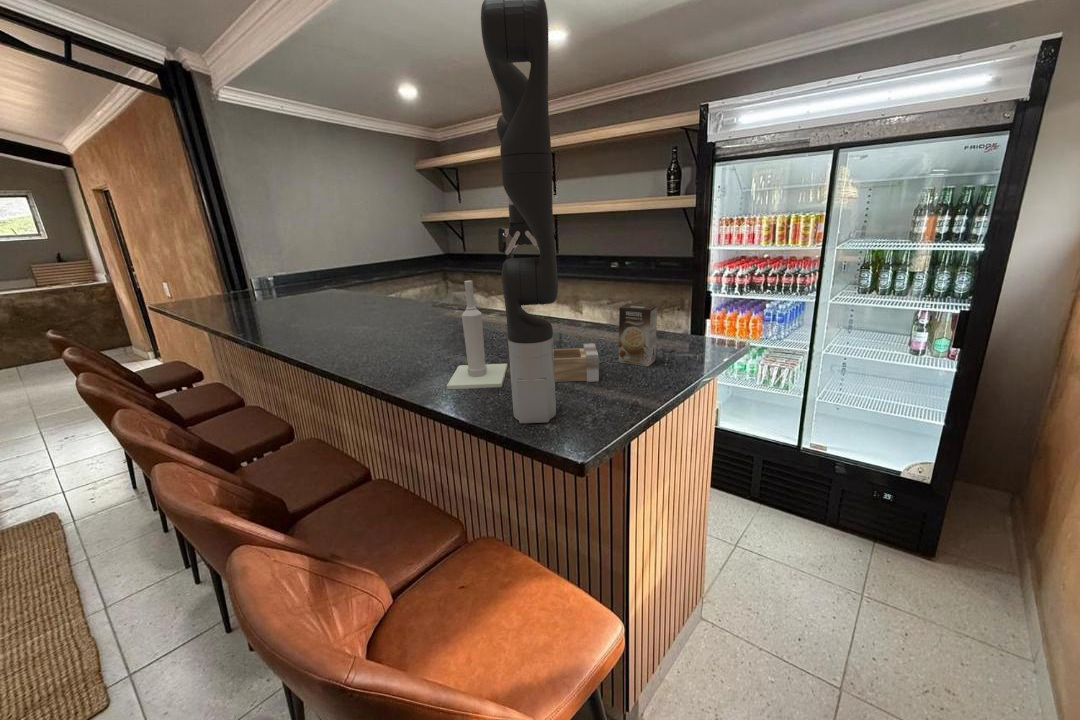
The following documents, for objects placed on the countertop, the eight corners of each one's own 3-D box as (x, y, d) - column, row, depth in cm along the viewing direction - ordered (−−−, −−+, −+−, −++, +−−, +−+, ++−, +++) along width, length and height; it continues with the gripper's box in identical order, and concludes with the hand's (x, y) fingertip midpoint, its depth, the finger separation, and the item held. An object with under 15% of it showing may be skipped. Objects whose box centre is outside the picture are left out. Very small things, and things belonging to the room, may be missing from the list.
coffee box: (617, 362, 127) (617, 307, 123) (625, 356, 133) (626, 302, 128) (648, 367, 123) (650, 309, 118) (656, 360, 128) (658, 304, 123)
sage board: (501, 387, 114) (501, 383, 113) (447, 389, 114) (446, 385, 114) (507, 366, 129) (507, 363, 129) (459, 368, 129) (458, 365, 129)
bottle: (479, 378, 118) (470, 282, 110) (464, 375, 121) (453, 282, 113) (491, 371, 122) (482, 279, 115) (475, 369, 125) (466, 279, 117)
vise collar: (598, 381, 114) (598, 355, 112) (538, 383, 115) (537, 357, 113) (594, 365, 126) (593, 341, 124) (539, 367, 127) (538, 343, 125)
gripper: (491, 204, 110) (496, 271, 115) (546, 200, 106) (549, 270, 111) (502, 204, 117) (507, 267, 122) (555, 201, 113) (557, 266, 118)
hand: (527, 268), depth 116 cm, fingers open, 8 cm apart
